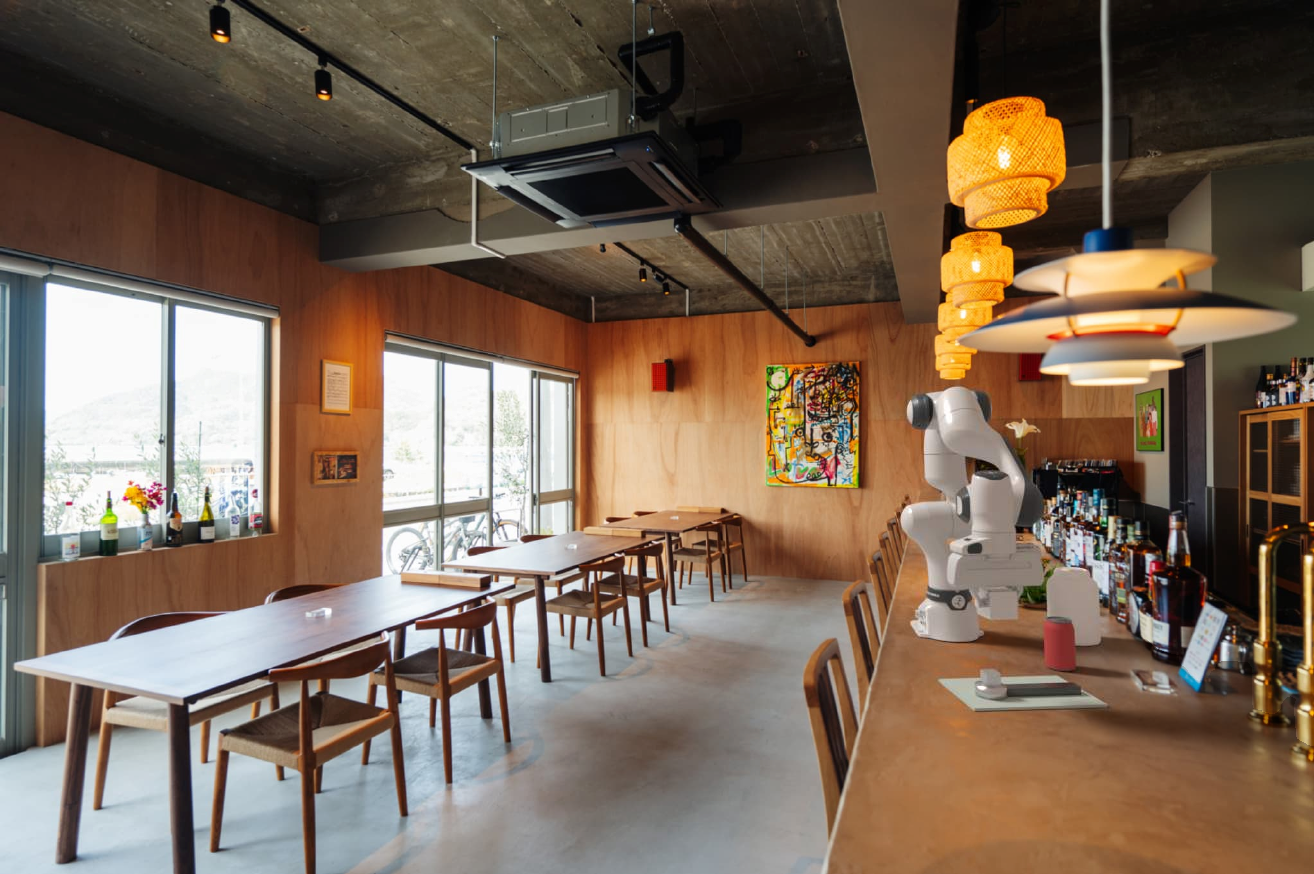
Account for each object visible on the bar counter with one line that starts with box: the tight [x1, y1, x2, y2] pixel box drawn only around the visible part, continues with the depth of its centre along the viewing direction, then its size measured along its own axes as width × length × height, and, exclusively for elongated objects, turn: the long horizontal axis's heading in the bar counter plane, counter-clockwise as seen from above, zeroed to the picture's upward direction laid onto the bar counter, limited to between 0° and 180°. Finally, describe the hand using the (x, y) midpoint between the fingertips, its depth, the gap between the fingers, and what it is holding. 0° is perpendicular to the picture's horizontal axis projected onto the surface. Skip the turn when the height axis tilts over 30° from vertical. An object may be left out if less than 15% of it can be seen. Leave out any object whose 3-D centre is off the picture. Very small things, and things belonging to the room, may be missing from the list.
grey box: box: [977, 587, 1019, 621], centre depth 150 cm, size 6×6×6 cm
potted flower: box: [1006, 556, 1061, 609], centre depth 230 cm, size 25×24×18 cm
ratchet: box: [975, 668, 1082, 701], centre depth 149 cm, size 6×22×5 cm, turn 90°
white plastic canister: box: [1046, 566, 1102, 647], centre depth 190 cm, size 12×12×20 cm
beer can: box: [1043, 616, 1077, 672], centre depth 167 cm, size 7×7×12 cm
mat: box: [938, 675, 1109, 712], centre depth 151 cm, size 18×28×1 cm, turn 90°
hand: (996, 606), depth 150 cm, fingers closed on grey box, 6 cm apart
